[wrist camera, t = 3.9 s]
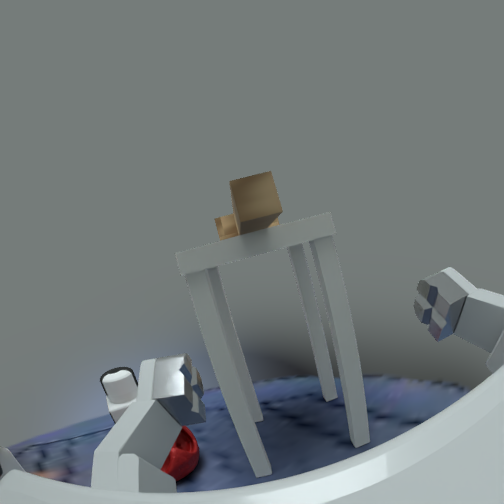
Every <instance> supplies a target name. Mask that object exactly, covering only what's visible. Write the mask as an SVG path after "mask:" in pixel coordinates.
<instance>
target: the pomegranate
mask: <svg viewBox="0 0 504 504" xmlns="http://www.w3.org/2000/svg"><path fill="white" fill-rule="evenodd" d="M181 427H182V429H181V431H180V433H179V435H178V437H177V439H176V441H175V443H174V445H173V446H172V448H171V450H170V452H169V454H168V456H167V458H166V460H165V462H164V464H163V466H162V468H161V471H163V472H165V473H167V474H168V475H170V476H172V477H173V478H174V479H175V480H176V481H178V480H180V479H182V478H184V477H185V476H187V475H188V474H189V473H190V472H192V471H193V470H194V468H195V467H196V465H197V463H198V459H199V447H198V444H197V441H196V438H195V436H194V435H193V433H192V432H191V431H190V430H189V429H188V428H187V427H186V426H181Z"/></svg>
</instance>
